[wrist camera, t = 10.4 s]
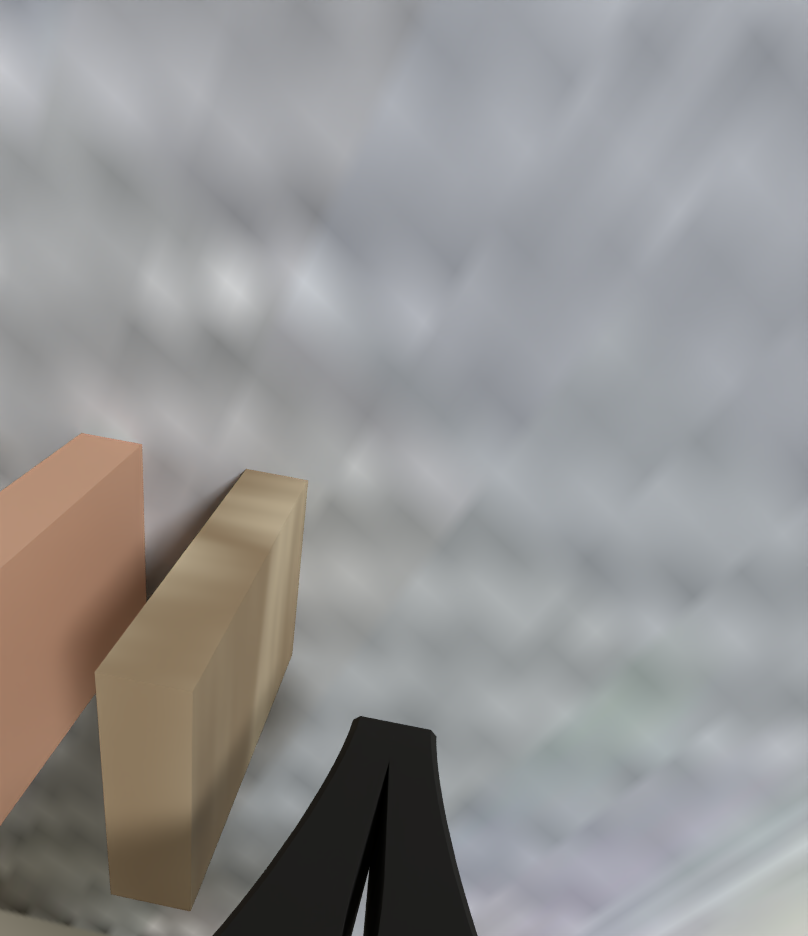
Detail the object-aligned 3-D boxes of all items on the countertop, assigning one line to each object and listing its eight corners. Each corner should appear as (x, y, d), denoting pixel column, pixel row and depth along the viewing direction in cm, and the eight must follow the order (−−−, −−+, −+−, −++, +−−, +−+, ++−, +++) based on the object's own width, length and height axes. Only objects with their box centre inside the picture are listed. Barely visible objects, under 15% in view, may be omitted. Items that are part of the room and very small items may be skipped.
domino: (93, 610, 18) (-103, 843, 12) (81, 432, 16) (-168, 612, 10) (146, 621, 18) (-25, 860, 12) (142, 444, 16) (-72, 631, 10)
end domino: (238, 643, 18) (111, 893, 12) (246, 469, 16) (94, 671, 10) (292, 654, 18) (190, 911, 12) (308, 480, 15) (192, 692, 10)
